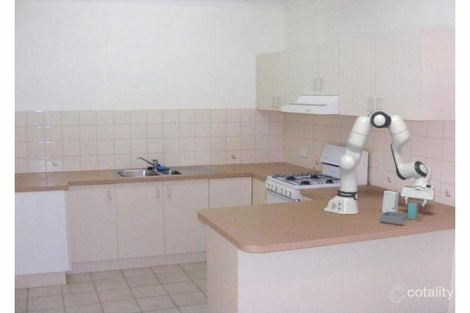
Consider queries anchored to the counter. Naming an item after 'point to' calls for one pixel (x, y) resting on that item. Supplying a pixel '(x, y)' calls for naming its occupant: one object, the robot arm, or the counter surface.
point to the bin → (393, 218)
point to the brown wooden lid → (417, 219)
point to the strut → (412, 210)
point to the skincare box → (390, 201)
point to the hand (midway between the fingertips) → (414, 205)
